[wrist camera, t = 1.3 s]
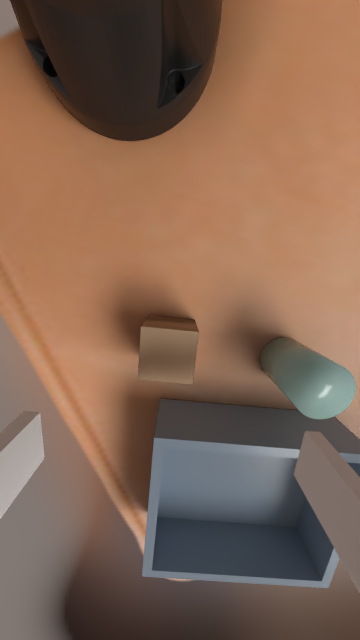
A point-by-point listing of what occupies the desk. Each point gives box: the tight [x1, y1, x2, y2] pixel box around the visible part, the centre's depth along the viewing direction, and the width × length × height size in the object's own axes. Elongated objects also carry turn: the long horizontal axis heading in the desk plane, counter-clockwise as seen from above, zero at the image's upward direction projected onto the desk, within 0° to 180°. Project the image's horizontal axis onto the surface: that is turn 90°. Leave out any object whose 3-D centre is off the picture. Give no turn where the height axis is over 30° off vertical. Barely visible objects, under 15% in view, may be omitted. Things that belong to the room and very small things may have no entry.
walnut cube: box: [138, 315, 199, 384], centre depth 20 cm, size 5×5×5 cm
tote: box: [142, 399, 360, 588], centre depth 24 cm, size 18×21×6 cm
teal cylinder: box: [260, 337, 356, 419], centre depth 20 cm, size 5×5×7 cm
